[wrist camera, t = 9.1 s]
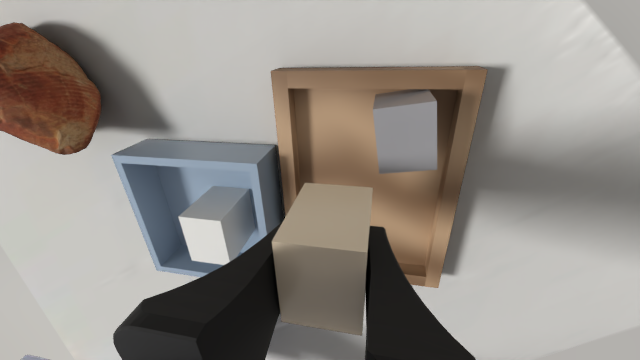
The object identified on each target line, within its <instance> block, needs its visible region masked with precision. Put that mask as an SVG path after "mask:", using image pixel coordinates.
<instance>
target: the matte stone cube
mask: <svg viewBox="0 0 640 360" xmlns="http://www.w3.org/2000/svg"><path fill="white" fill-rule="evenodd" d="M373 117H374V127H375V137H376V147H377V156H378V166H379V174H386V173H400V172H413V171H427V170H437V100H436V99H435V98H434V96H433V95H432V94H431V92H430V91H429V89H408V90H401V91H394V92H387V93H380V94H375V100H374V105H373Z"/></svg>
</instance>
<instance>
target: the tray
mask: <svg viewBox="0 0 640 360" xmlns="http://www.w3.org/2000/svg"><path fill="white" fill-rule="evenodd" d="M486 75H487V69H484V68H482V67H479V66H451V67H337V68H278V69H275V70H273V71H271V79H272V89H273V98H274V108H275V118H276V128H277V138H278V147H279V157H280V167H281V177H282V187H283V196H284V206H285V216H286V215H287V214H288V212H289V210H290V208H291V206H292V205H293V203H294V201H295V199H296V198H297V196H298V194H299V192H300V191H301V189H302V187H303V185H304V184H305V183H315V184H328V185H342V186H356V187H370V188H373V193H372V209H371V224H370V226H378V227H384V228H385V229H386V234H387V238H388V241H389V243H390V246H391V248H392V251H393V253H394V255H395V257H396V259H397V262H398V264H399V265H400V267H401V269H402V271H403V273H404V275H405V276H406V278H407V280H408V281H409V283H410V284H411V285H419V286H426V287H434V288H438V286H439V282H440V277H441V273H442V268H443V264H444V260H445V255H446V251H447V246H448V242H449V238H450V233H451V229H452V224H453V220H454V216H455V211H456V207H457V202H458V198H459V194H460V189H461V185H462V180H463V176H464V172H465V167H466V163H467V158H468V154H469V150H470V145H471V141H472V136H473V132H474V128H475V123H476V119H477V114H478V110H479V106H480V101H481V97H482V92H483V88H484V84H485V79H486ZM408 89H429V91H430V92H431V94H432V95H433V96H434V98H435V99H436V100H437V170H427V171H413V172H400V173H386V174H379V166H378V156H377V147H376V137H375V127H374V117H373V105H374V100H375V94H380V93H387V92H394V91H401V90H408Z"/></svg>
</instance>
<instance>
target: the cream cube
mask: <svg viewBox="0 0 640 360" xmlns="http://www.w3.org/2000/svg"><path fill="white" fill-rule="evenodd" d="M372 193H373V188H370V187H356V186H342V185H328V184H315V183H305V184H304V185H303V187H302V189H301V191H300V192H299V194H298V196H297V198H296V199H295V201H294V203H293V205H292V206H291V208H290V210H289V212H288V214H287V215H286V217H285V219H284V221H283V222H282V224H281V226H280V228H279V229H278V231H277V233H276V235H275V236H274V238H273V240H272V248H273V256H274V265H275V273H276V281H277V289H278V297H279V305H280V314H281V322H285V323H291V324H297V325H302V326H308V327H314V328H320V329H326V330H331V331H337V332H343V333H349V334H355V335H360V336H362V331H363V318H364V306H365V293H366V276H367V260H368V245H369V232H370V224H371V209H372Z"/></svg>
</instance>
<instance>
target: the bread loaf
mask: <svg viewBox="0 0 640 360" xmlns="http://www.w3.org/2000/svg"><path fill="white" fill-rule="evenodd" d="M100 100H101V96H100V93H99V91H98V89H97V87H96V86H95V84H94V83H93V82H92V81H90V80H89V79H88V78H87V76H86V74H85V73H84V72H83V70H82V68H81V67H80V66H79V65H78V63H77V62H76V61H75V60H74V59H73V58H72V57H71V56H70V55H69V54H68V53H66V52H64V51H63V50H61V49H60V48H59V47H58V46H56V45H55V44H53V43H51V42H49V41H48V40H47V39H46V38H45V37H43V36H42V35H40V34H39V33H37V32H36V31H34V30H33V29H31V28H29V27H27V26H26V25H24V24H23V23H14V22H13V23H11V24H6V25H3V26H1V27H0V131H4V132H6V133H8V134H11V135H13V136H15V137H17V138H19V139H22V140H24V141H27V142H29V143H32V144H35V145H38V146H40V147H43V148H45V149H48V150H50V151H52V152H55V153H58V154H63V155H66V154H72V153H77V152H79V151H81V150H83V149H85V148H87V146H88V144H89V143H90V141H91V139H92V137H93V133H94V132H95V129H96V127H97V124H98V121H99V117H100V113H101V101H100Z"/></svg>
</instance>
